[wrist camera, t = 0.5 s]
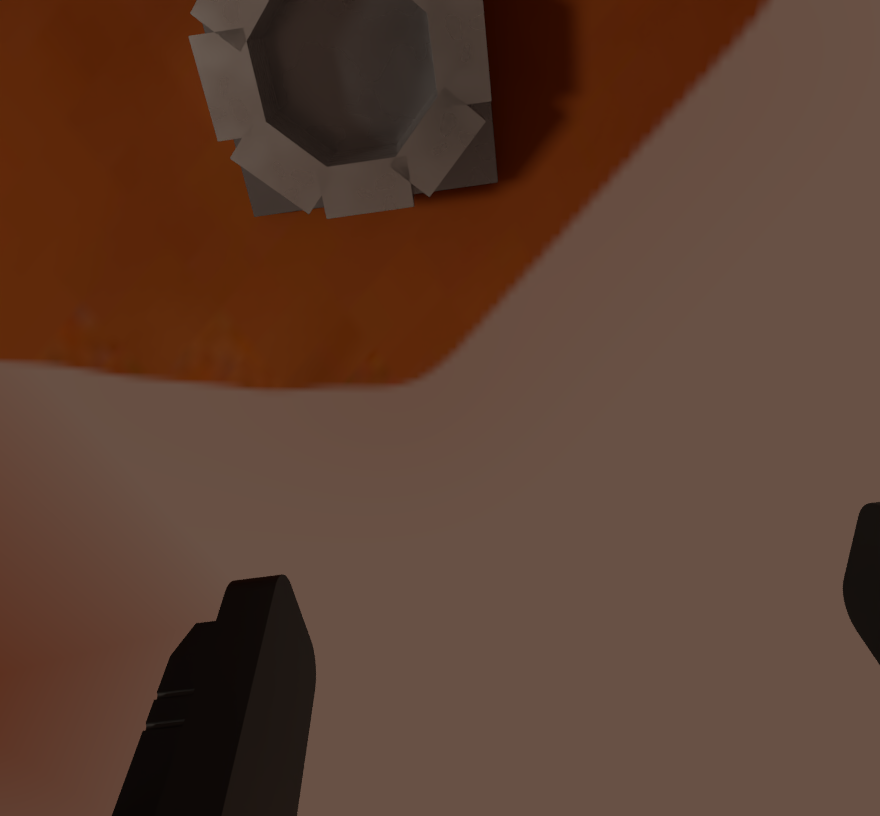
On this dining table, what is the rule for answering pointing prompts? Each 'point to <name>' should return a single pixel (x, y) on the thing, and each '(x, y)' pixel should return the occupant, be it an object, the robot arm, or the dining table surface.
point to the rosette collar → (348, 99)
